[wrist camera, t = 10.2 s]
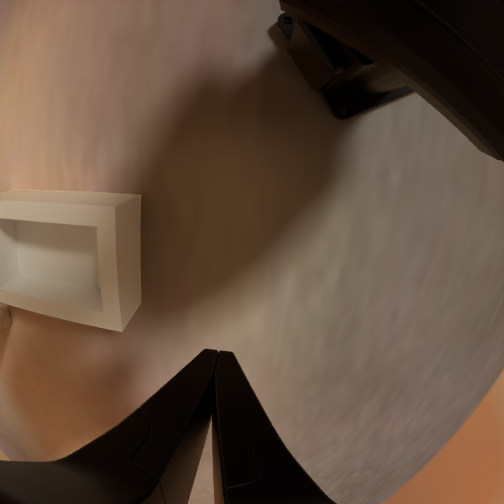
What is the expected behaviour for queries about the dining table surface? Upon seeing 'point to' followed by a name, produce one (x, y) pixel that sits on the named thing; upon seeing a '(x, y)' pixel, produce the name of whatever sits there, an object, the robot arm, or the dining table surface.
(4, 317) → the oak shelf
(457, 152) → the dining table surface
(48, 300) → the beige tray
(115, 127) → the dining table surface
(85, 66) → the dining table surface
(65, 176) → the dining table surface
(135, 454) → the robot arm
